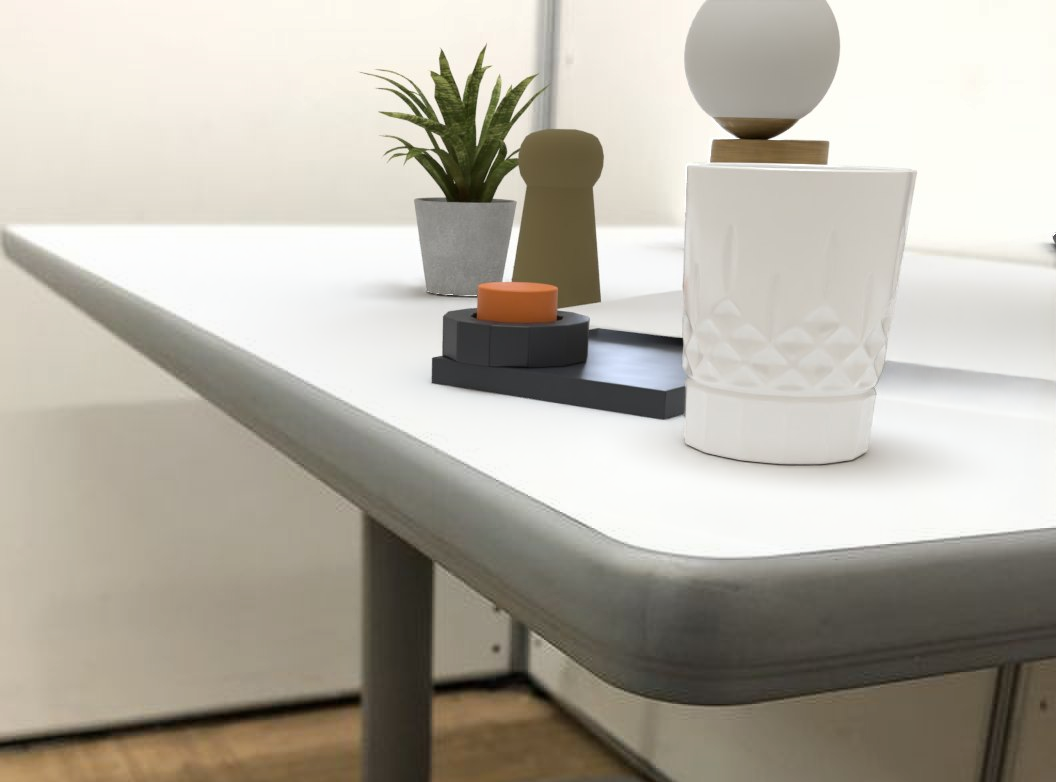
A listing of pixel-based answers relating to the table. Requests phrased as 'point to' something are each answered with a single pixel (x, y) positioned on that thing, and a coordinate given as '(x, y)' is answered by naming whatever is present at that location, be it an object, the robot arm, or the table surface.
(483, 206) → the house plant
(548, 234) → the cork
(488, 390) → the scale
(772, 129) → the lamp
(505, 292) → the button
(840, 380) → the white cup
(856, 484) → the table surface
